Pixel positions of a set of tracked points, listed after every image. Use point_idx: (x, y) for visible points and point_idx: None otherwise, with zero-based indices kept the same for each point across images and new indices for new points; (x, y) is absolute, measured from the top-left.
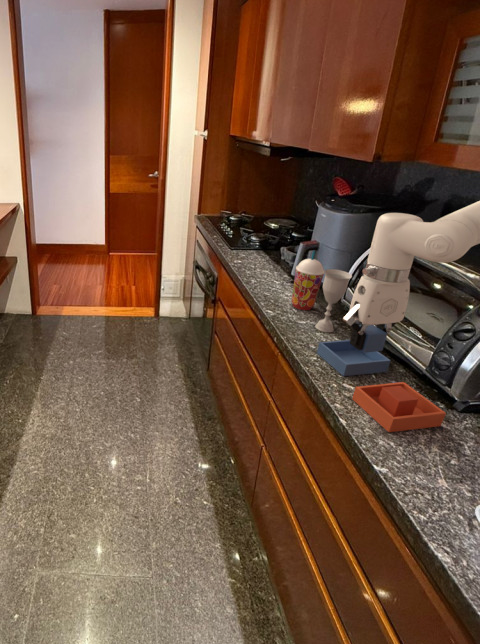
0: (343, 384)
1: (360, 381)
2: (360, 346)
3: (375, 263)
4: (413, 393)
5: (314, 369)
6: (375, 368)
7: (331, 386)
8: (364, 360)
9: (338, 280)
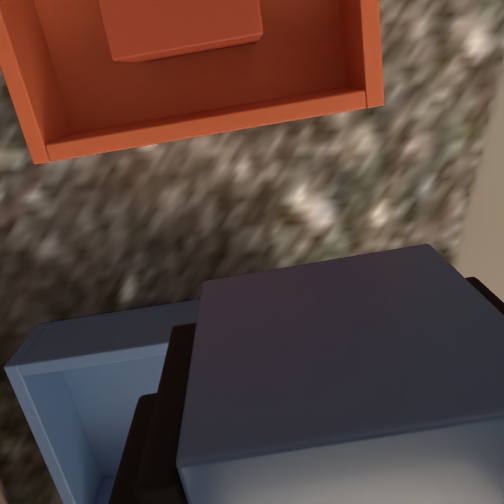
0: (327, 221)
1: (221, 247)
2: (492, 302)
3: None
4: (24, 58)
5: None
6: (104, 327)
7: (402, 203)
8: (112, 399)
9: None
